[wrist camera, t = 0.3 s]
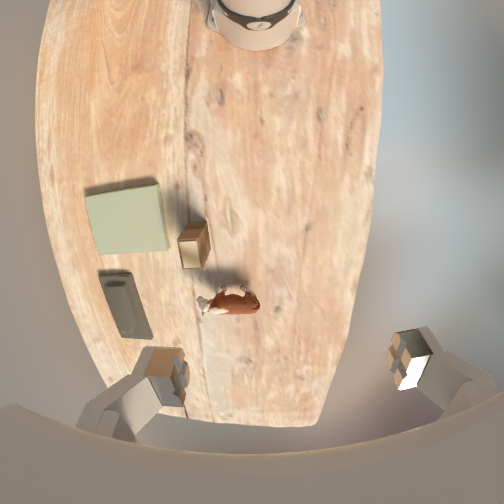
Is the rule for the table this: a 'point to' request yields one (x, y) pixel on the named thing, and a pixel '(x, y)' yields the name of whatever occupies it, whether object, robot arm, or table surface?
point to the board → (128, 220)
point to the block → (194, 245)
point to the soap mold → (125, 305)
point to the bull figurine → (230, 303)
